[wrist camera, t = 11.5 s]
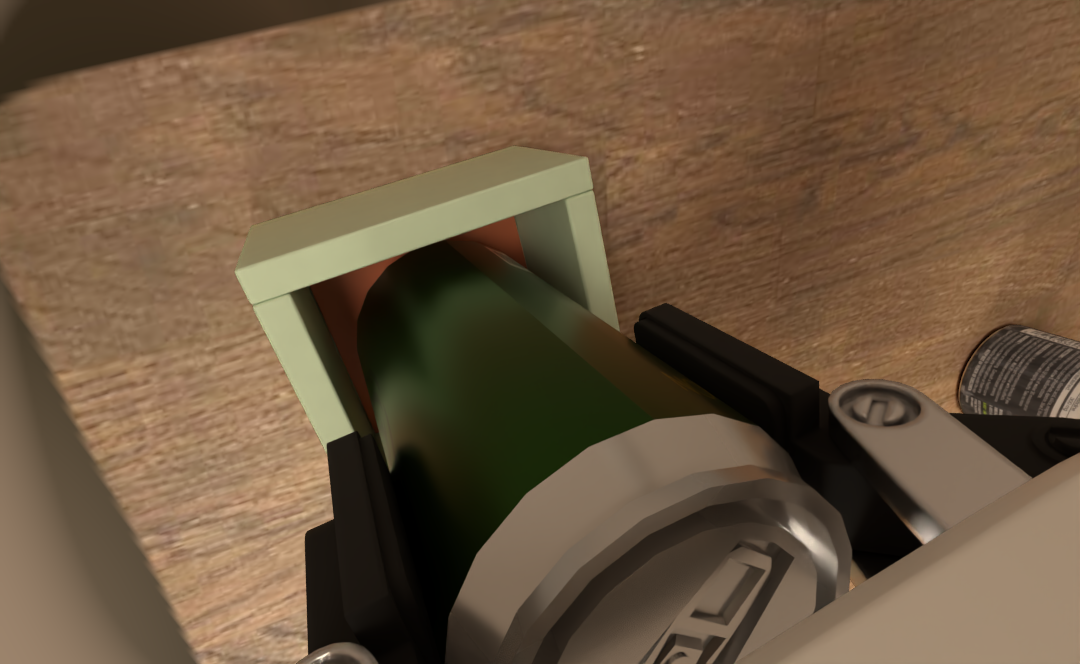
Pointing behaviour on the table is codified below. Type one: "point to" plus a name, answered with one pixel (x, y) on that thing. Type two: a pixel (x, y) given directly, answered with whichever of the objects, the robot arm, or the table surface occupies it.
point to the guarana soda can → (578, 480)
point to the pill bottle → (1023, 375)
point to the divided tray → (393, 231)
